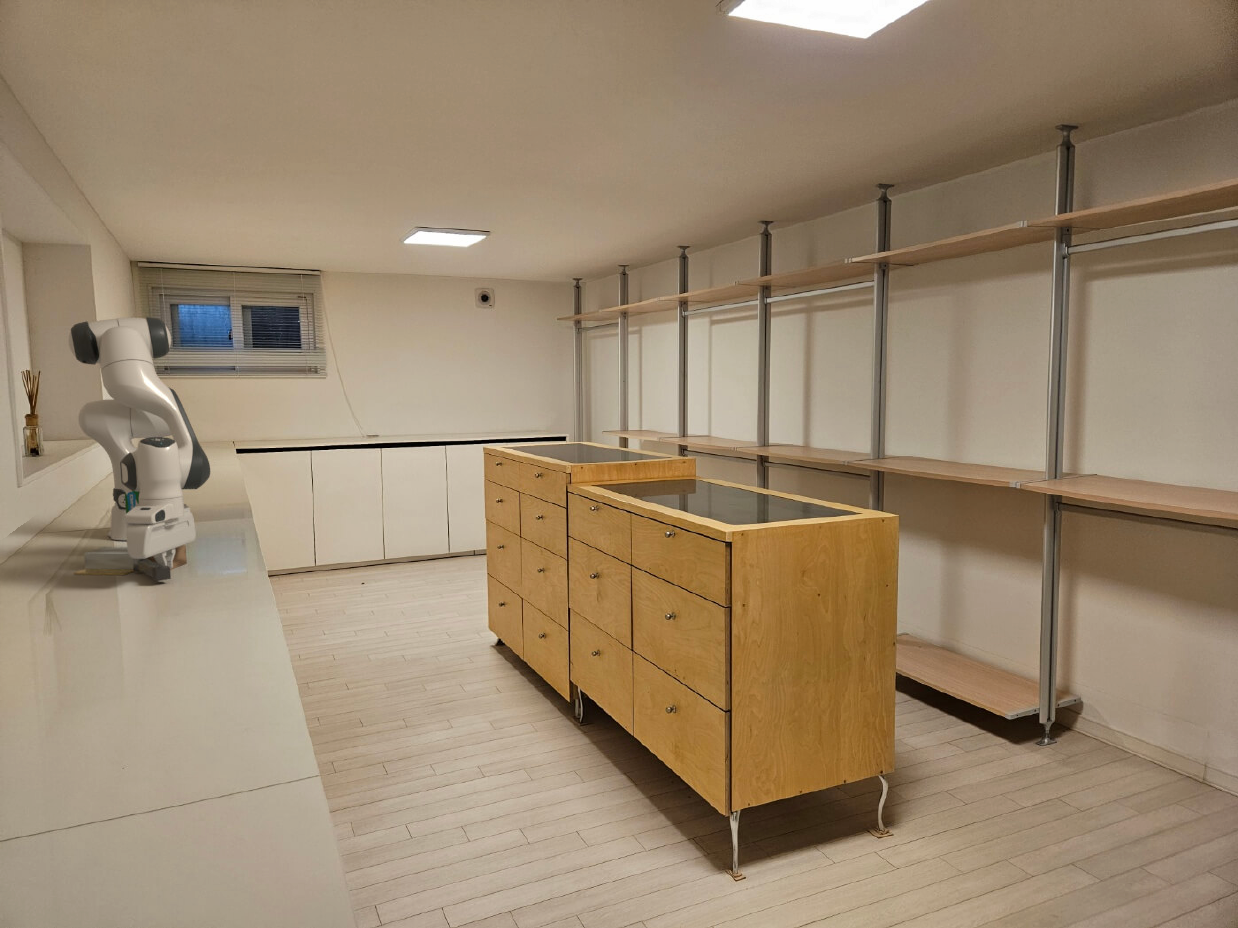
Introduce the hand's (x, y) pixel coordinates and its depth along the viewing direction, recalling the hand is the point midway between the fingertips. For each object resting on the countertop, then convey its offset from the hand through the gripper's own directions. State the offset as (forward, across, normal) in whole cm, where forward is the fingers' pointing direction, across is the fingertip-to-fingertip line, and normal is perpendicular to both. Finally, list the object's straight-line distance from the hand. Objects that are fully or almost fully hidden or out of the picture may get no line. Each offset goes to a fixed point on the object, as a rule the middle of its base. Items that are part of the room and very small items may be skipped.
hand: (165, 569), depth 188 cm
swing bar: (+1, +1, -3) cm, 3 cm away
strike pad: (+2, -3, -17) cm, 17 cm away
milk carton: (+2, -24, -17) cm, 29 cm away
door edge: (+2, -10, -13) cm, 16 cm away
